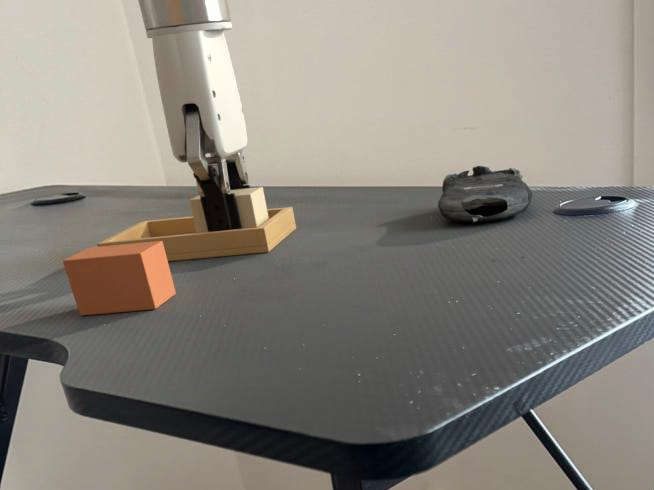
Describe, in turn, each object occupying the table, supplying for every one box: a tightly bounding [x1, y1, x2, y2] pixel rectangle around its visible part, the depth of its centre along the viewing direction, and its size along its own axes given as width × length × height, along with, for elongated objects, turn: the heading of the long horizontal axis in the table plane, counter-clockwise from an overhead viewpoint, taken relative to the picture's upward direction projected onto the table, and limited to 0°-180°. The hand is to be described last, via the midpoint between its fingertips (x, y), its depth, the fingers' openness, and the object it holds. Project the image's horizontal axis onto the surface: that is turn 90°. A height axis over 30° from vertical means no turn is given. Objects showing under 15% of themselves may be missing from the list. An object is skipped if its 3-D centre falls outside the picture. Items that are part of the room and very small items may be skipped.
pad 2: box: [188, 186, 269, 233], centre depth 91 cm, size 6×5×4 cm
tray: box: [96, 206, 297, 262], centre depth 92 cm, size 16×13×2 cm
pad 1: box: [62, 241, 177, 317], centre depth 71 cm, size 6×5×4 cm
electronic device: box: [437, 165, 533, 224], centre depth 93 cm, size 9×6×15 cm
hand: (234, 232), depth 92 cm, fingers closed on pad 2, 4 cm apart
